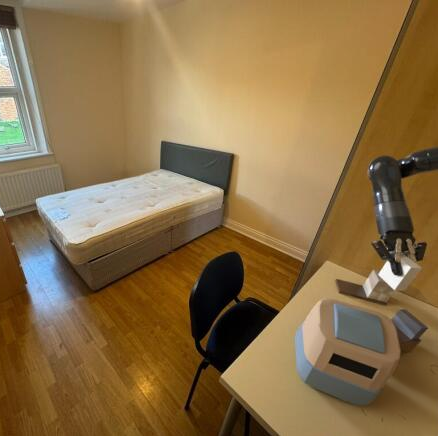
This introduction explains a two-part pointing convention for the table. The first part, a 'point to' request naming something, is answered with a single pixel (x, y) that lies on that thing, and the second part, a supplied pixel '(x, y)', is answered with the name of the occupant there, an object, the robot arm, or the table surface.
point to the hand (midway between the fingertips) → (405, 275)
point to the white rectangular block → (400, 281)
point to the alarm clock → (346, 350)
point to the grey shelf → (406, 342)
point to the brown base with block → (367, 289)
